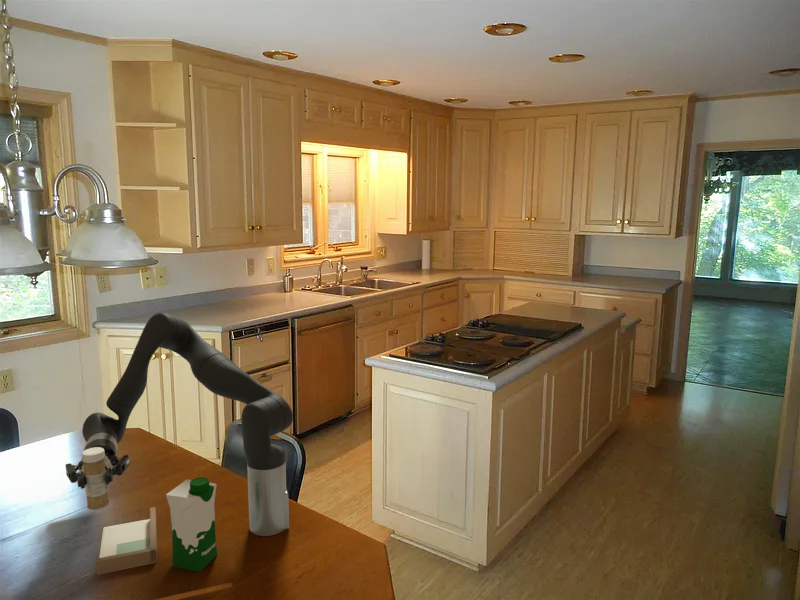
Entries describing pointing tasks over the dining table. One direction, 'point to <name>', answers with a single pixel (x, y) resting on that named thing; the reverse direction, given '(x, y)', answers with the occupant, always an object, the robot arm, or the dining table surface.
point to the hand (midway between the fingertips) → (95, 482)
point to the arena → (122, 535)
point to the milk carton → (193, 524)
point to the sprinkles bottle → (95, 478)
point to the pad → (133, 546)
